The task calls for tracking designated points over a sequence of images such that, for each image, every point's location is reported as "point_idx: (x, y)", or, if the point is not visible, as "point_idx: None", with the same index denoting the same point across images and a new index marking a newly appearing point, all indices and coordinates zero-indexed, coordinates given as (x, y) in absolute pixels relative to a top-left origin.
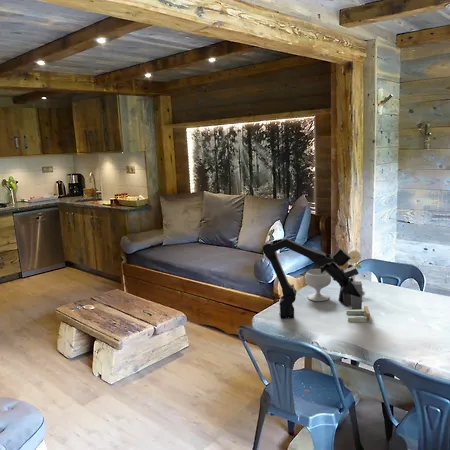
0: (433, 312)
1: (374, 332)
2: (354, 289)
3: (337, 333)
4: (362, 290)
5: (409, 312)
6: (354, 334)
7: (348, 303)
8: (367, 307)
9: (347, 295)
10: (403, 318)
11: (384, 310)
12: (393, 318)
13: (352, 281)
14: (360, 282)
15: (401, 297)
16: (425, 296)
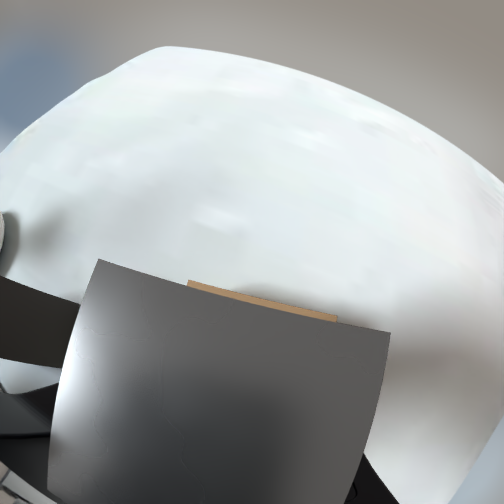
0: (257, 76)
1: (437, 339)
2: (380, 498)
3: (410, 499)
4: (1, 215)
5: (239, 120)
6: (439, 432)
7: (66, 346)
8: (217, 289)
9: (27, 337)
10: (298, 158)
11: (185, 194)
12: (292, 192)
13: (56, 474)
14: (177, 309)
15: (103, 112)
16: (135, 69)
